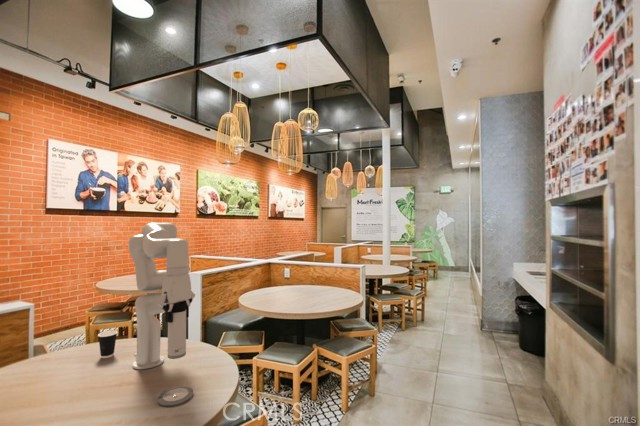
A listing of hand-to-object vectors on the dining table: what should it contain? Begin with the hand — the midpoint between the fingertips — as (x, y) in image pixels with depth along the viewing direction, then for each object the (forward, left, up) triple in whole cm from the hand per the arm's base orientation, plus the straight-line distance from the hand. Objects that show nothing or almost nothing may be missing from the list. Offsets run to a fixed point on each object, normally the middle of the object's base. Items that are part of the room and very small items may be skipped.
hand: (177, 319), depth 117 cm
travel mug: (0, 0, -14) cm, 14 cm away
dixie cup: (-61, +8, -28) cm, 68 cm away
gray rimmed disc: (+1, -1, -28) cm, 28 cm away
